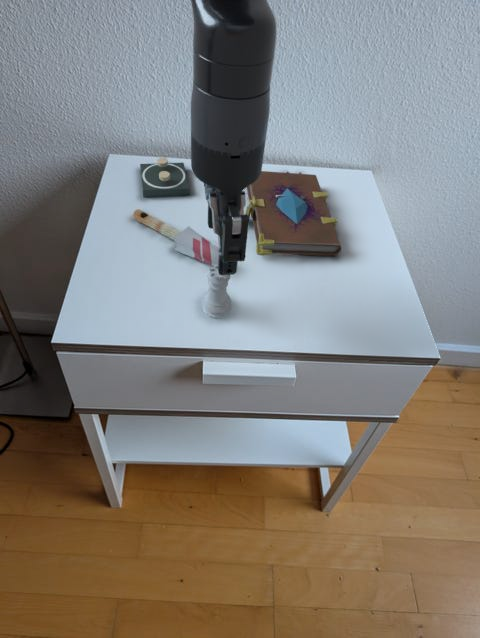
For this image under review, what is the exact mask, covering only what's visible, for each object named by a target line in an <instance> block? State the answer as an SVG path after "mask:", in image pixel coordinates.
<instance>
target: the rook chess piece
mask: <svg viewBox="0 0 480 638" xmlns="http://www.w3.org/2000/svg"><path fill="white" fill-rule="evenodd" d="M206 278H207V284H208V285H207V286H208V291H206V292H205V294H204V295H203V296H202V299H201V300H202V301H201V308H202V311H203V312H204V313H205V314H206V315H207V316H210V317H212V318H222V317H225V316H226V315H228V314H229V313H230V311H231V309H232V298H231V297H230V294H229V293H228V290H227V287H228V286H229V281H230V279H231V275H220V274H219V272H218V264H216V265H214V266H210V268H209V270H208V271H207V273H206Z"/></svg>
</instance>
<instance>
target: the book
mask: <svg viewBox="0 0 480 638" xmlns="http://www.w3.org/2000/svg"><path fill="white" fill-rule="evenodd" d="M245 189H246V191H247V196H248V206H247V207H246V210H245V212H244V215H246V214H247V215H248V218H249V219H250V217H251V218H252V224H253V229H254V235H255V239H256V248H255V253H256V255H258V256H262V257H265V256H270V255H273V254H274V255H276V254H277V255H306V256H307V255H308V256H309V255H311V256H337V255H338V254H339V253H340V252H342V245H341V242H340V240H339V235H338V231H337V228H336V226H337V223H338V219H337V218H336V217H332V215H331V212H330V208H329V205H328V203H327V200H328V197H329V194H328V192H323V189H322V188H321V185H320V183H319V180H318V177H317V175H316V174H310V173H302V172H301V171H300V172H299V173H294V172H289V171H286V172H282V171H281V172H280V171H265V170H261V174H260V176H259V178H258V179H257V180H256V181H255V182H254V183H253V184H251V185H249V186H248V187H246V188H245Z"/></svg>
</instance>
